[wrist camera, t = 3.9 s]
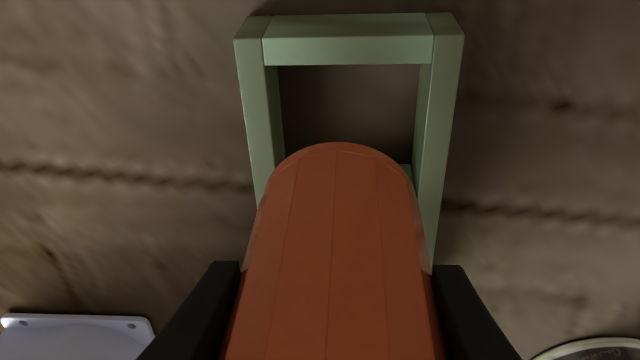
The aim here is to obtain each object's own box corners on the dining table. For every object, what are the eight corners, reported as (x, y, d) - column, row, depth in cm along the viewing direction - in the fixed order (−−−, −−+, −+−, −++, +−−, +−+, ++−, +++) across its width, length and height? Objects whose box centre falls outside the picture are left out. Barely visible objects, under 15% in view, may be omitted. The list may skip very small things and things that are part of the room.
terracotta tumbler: (270, 260, 16) (201, 607, 9) (255, 139, 13) (133, 493, 6) (410, 263, 16) (458, 625, 8) (422, 138, 13) (513, 513, 6)
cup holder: (279, 278, 27) (272, 317, 24) (247, 15, 18) (232, 38, 16) (418, 281, 26) (424, 321, 24) (451, 11, 18) (465, 34, 15)
